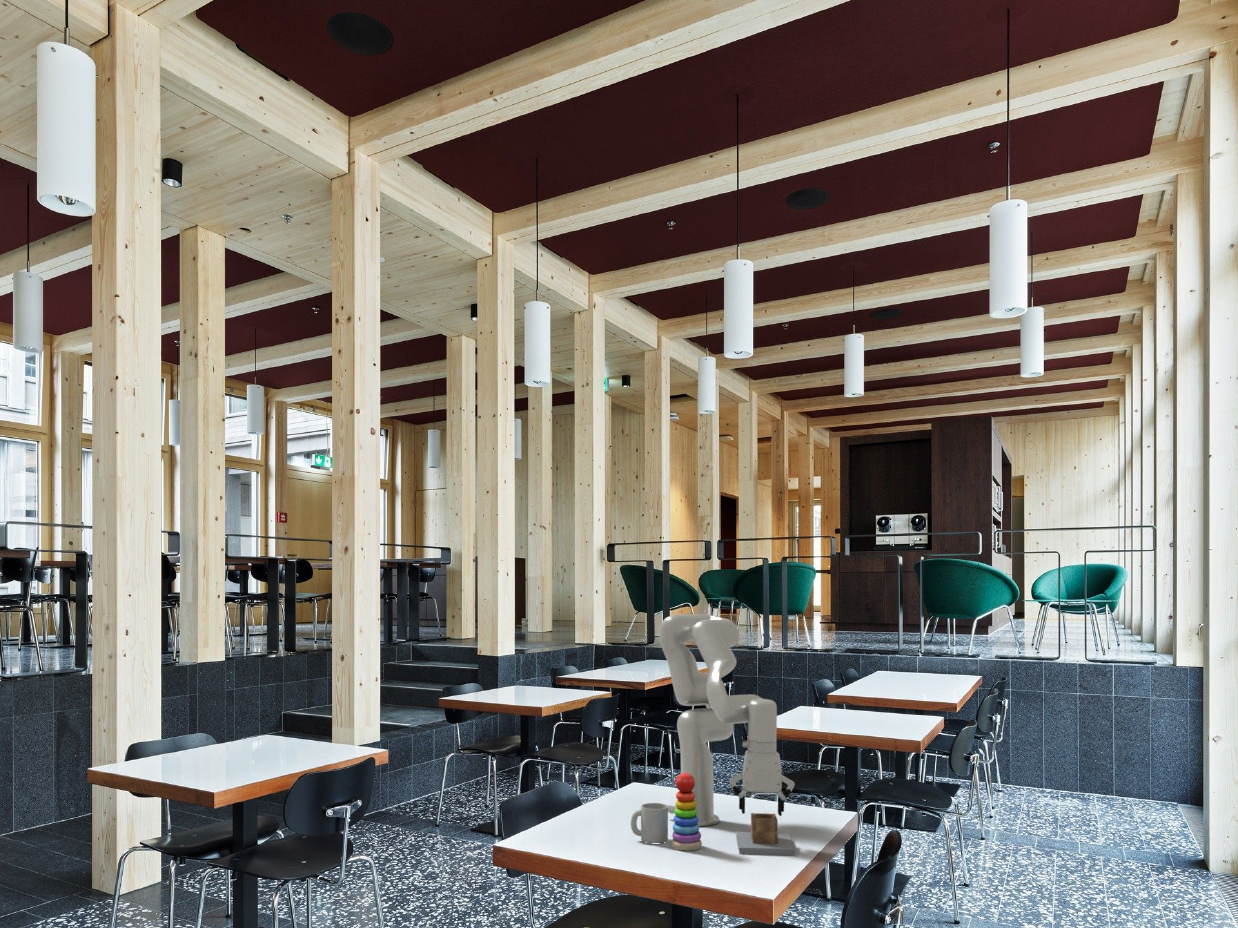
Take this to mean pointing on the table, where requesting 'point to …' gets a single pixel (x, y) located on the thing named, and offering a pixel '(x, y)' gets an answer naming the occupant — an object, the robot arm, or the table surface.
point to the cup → (651, 823)
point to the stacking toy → (686, 816)
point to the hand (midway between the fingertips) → (761, 813)
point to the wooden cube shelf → (764, 828)
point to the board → (765, 845)
